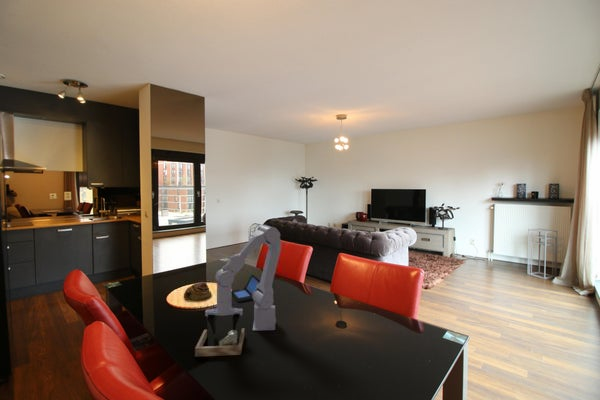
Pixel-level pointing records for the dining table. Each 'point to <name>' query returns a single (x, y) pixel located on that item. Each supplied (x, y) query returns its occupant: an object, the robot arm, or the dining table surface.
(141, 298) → the dining table surface
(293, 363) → the dining table surface
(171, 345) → the dining table surface
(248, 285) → the handheld game console
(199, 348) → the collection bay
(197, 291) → the brown swirled mound
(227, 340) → the pipe fitting
